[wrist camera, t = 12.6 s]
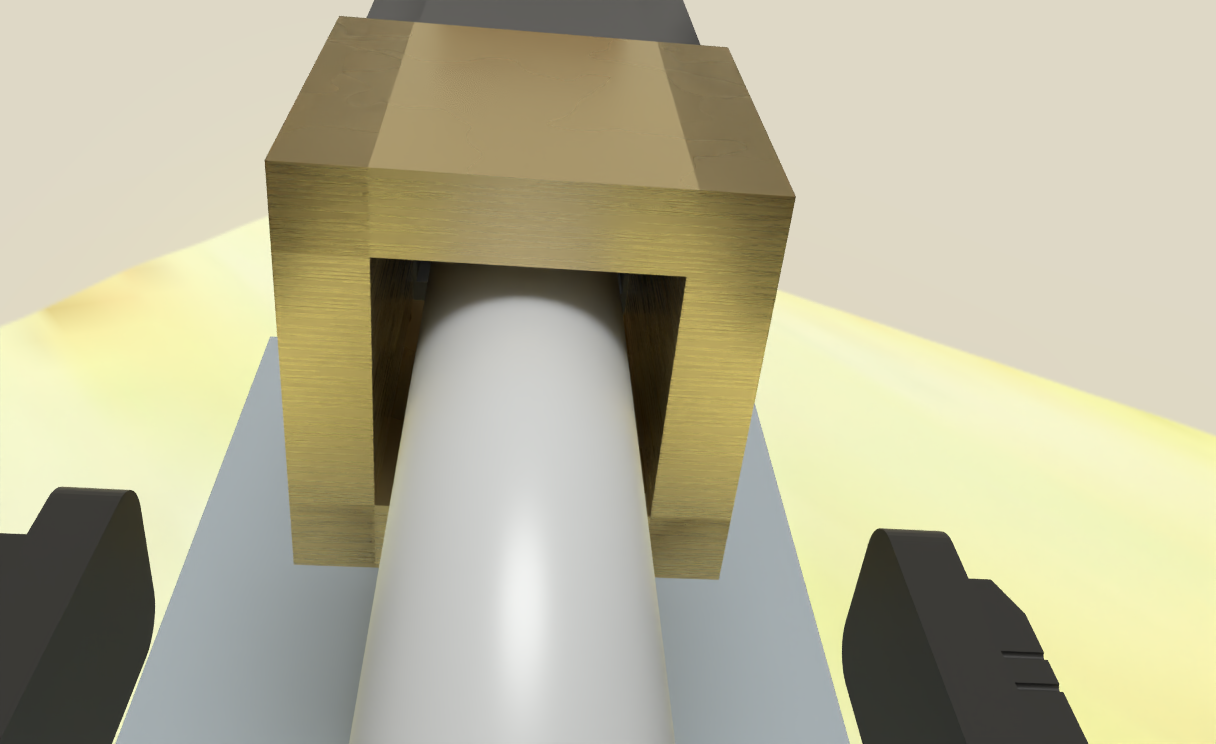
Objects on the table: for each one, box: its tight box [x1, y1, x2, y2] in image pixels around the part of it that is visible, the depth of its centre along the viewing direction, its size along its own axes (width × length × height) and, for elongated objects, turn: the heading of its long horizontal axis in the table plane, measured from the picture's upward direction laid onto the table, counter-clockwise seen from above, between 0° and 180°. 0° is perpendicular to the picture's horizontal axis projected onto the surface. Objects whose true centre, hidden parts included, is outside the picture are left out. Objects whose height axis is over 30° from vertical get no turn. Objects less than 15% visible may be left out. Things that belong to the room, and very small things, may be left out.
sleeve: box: [265, 16, 796, 580], centre depth 18 cm, size 6×6×6 cm
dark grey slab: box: [367, 0, 700, 312], centre depth 23 cm, size 6×4×6 cm
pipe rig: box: [116, 261, 850, 744], centre depth 19 cm, size 14×26×16 cm, turn 3°
